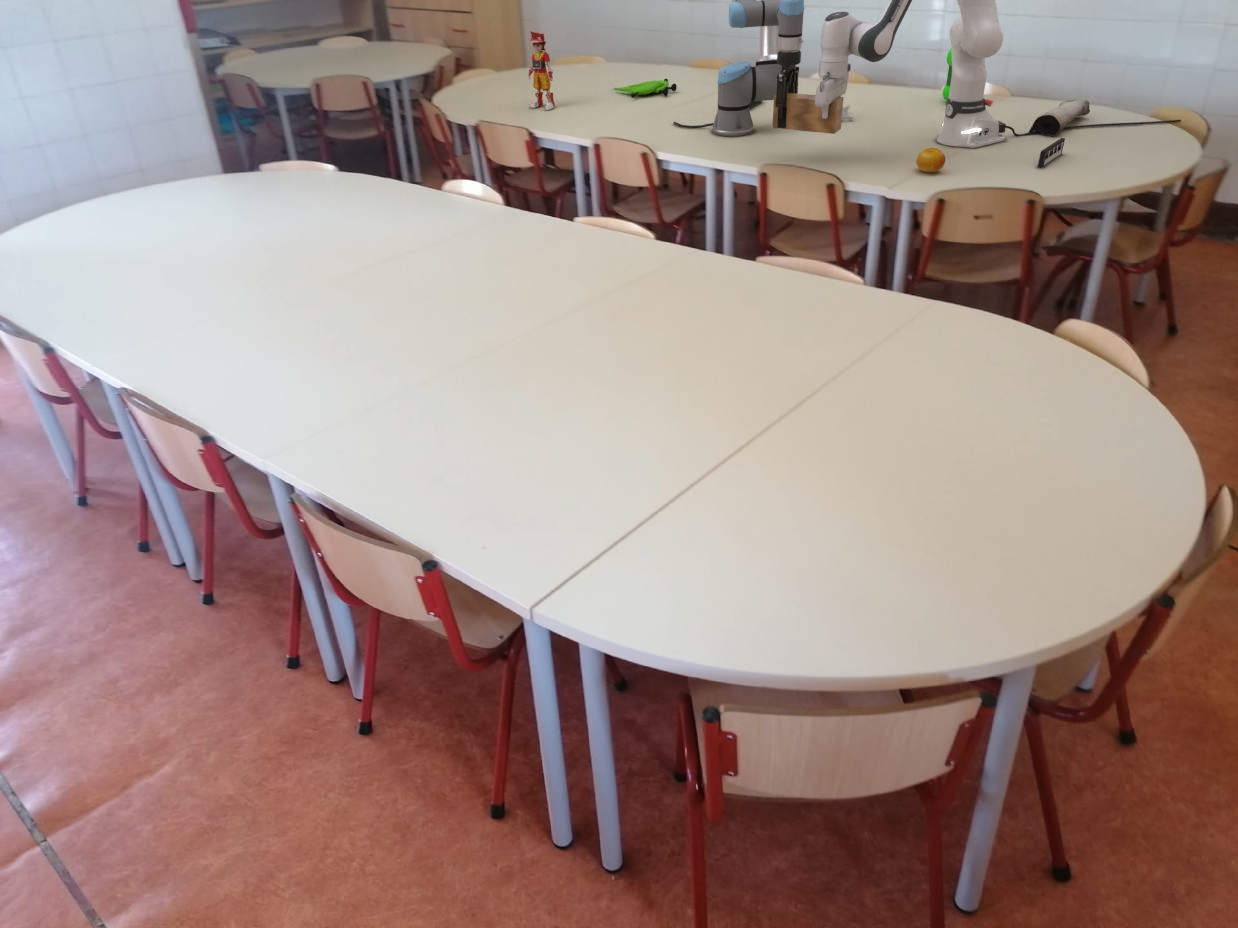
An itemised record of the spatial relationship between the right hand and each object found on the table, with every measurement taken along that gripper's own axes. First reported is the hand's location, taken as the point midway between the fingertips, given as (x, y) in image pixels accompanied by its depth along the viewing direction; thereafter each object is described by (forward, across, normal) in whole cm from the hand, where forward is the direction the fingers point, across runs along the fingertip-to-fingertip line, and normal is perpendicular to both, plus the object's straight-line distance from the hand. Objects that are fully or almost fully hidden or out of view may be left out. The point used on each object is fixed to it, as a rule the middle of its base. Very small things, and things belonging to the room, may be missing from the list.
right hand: (829, 115), depth 291 cm
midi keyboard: (+15, +25, -66) cm, 72 cm away
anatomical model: (+15, +55, +16) cm, 60 cm away
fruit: (+15, +1, -34) cm, 37 cm away
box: (+5, 0, +8) cm, 9 cm away
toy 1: (+15, +32, +138) cm, 142 cm away
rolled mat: (+15, +69, -62) cm, 94 cm away
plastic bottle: (+15, +92, -20) cm, 95 cm away
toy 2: (+15, +70, +110) cm, 131 cm away
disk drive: (+15, +61, +57) cm, 85 cm away
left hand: (+4, 0, +15) cm, 15 cm away
